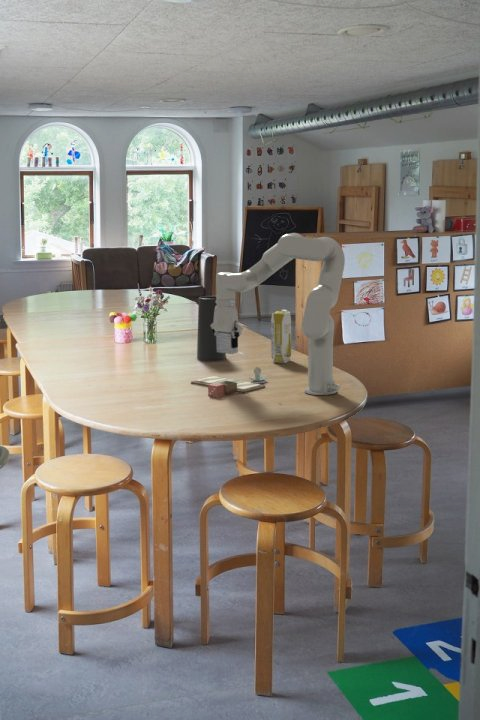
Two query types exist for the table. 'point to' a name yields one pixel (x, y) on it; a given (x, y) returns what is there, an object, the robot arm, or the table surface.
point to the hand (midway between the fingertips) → (226, 346)
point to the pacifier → (258, 376)
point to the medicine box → (225, 343)
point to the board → (241, 385)
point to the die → (216, 389)
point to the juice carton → (281, 336)
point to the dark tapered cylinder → (207, 331)
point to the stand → (229, 387)
